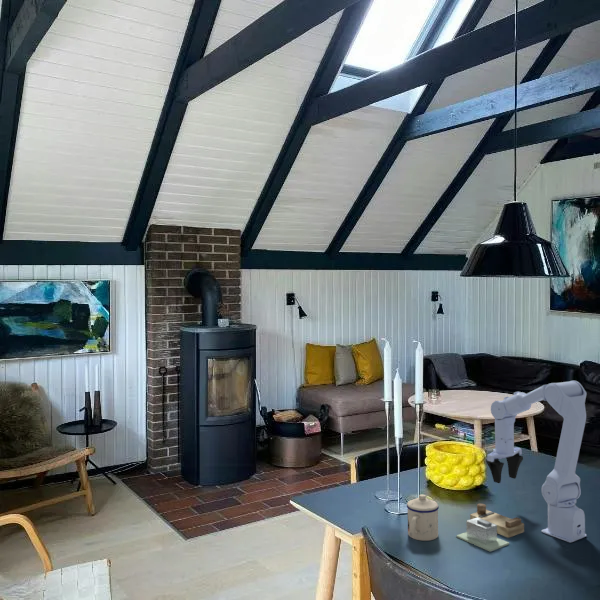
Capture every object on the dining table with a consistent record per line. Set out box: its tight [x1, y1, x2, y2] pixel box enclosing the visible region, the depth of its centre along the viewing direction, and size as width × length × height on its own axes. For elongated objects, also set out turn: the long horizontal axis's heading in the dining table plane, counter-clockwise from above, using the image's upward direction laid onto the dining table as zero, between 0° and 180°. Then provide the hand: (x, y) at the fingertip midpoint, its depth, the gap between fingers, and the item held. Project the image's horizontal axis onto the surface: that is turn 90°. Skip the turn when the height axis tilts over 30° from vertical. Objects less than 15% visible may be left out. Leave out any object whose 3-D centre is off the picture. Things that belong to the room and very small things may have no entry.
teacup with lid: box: [406, 493, 439, 542], centre depth 179 cm, size 12×9×12 cm
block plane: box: [469, 503, 525, 539], centre depth 185 cm, size 14×7×5 cm, turn 33°
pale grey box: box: [465, 517, 498, 545], centre depth 176 cm, size 7×4×5 cm, turn 33°
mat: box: [456, 531, 510, 553], centre depth 176 cm, size 12×8×1 cm, turn 33°
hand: (504, 480), depth 199 cm, fingers open, 7 cm apart
